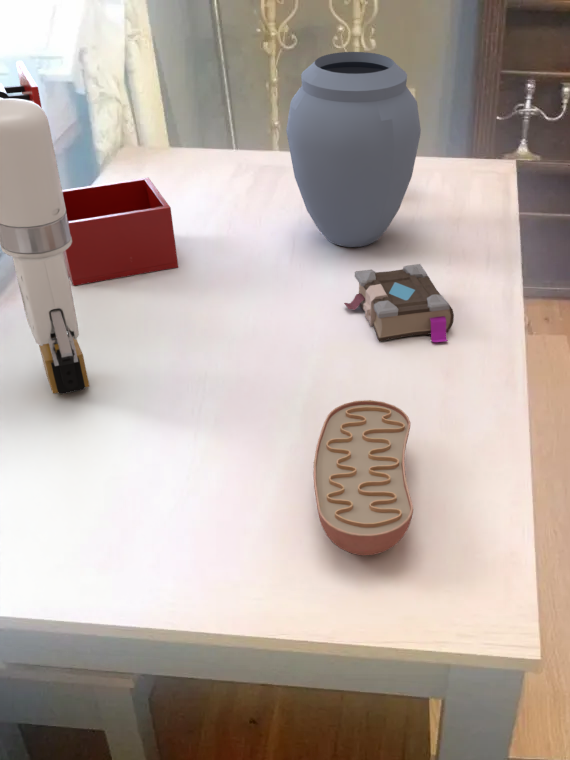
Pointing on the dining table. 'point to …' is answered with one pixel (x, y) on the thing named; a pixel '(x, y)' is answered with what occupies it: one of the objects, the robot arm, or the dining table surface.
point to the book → (402, 304)
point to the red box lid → (22, 87)
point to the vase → (353, 144)
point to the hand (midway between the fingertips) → (67, 378)
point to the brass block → (48, 360)
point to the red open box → (118, 231)
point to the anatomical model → (363, 476)
